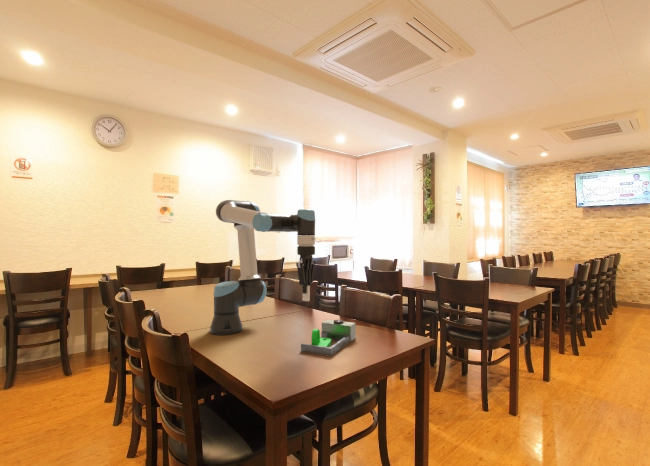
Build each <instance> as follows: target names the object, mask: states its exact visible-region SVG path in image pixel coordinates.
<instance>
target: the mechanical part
mask: <svg viewBox="0 0 650 466" xmlns="http://www.w3.org/2000/svg"><path fill="white" fill-rule="evenodd" d="M311 344H312V345H318V346H324V347H331V346H332V340H331V339H330V338H324V337H321V330H320V329H319V328H313V329H312V332H311Z"/></svg>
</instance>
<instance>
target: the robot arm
mask: <svg viewBox="0 0 650 466" xmlns="http://www.w3.org/2000/svg"><path fill="white" fill-rule="evenodd" d="M215 215H216V217H217V219H218V220H219V221H221V222H223V223H227V224H233V227H234V229H235V230H236V231H237V242H238V243H237V244H238V256H239V269H240V272H239V273H240V276H239V278H238V280H230V281H228V280H227V281H222V282H220V283H217V284H216V285H215V286H214V289H213V317H212V321H211V325H210V328H209V332H210V334H212V335H215V336H216V335H217V336H226V335H234V334H237V333H240V332H242V331H243V322H242V320H241V317H240V309H239V308H240V307H242V308H243V307H246V306H252V305H254V306H255V305H258V304H260V303H263V302H264V300H265V298H266V297H267V293H268V292H267V285H266V283H265V282H264V281H263V280H262V278H261V276H260V275H259V273H258V264H257V262H258V261H257V250H256V237H255V231H257V232H262V233H266V232H273V233H275V232H279V233H280V232H282V233H283V232H285V233H292V232H293V233H294V232H297V236H296V237H297V239H296V241H297V250H296V251H297V255H298V256H299V262H296V264H295V265H296V268H297V269H296V270H297V275H298V282H299V283H298V284H299V286H302V302H310V299H311V298H310V297H311V295H310V294H311V290H310V289H311V286H313V283H314V272H315V265H316V261H315V260H314V259H313V256H314V255H315V254H316V247H315V244H316V236H315V235H316V234H315V233H316V212H315V211H314V209H311V208H310V209H308V208H306V209H305V208H304V209H301V208H300V209H298V210H297V213H296V214H278V213H277V214H276V213H267V212H262V211H261V210H260V208H259V206H258V204H257V203H255V202H253V201H249V200H235V199H234V200H233V199H232V200H231V199H227V200H222V201H220V203H218V205H217V206H216V208H215Z"/></svg>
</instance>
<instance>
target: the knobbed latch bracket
mask: <svg viewBox="0 0 650 466" xmlns="http://www.w3.org/2000/svg"><path fill="white" fill-rule="evenodd" d="M356 325H357V324H356V322H351V321H344V320H343V319H334V320H333V319H326V320H324V321H322V322H321V331H320V337H324V338H330V339H331V341H333V342H335V343H334V344H331V345H330V347H324V346H318V345H312V343H311V344H310V343H306V342H304V343H303V342H301V343H300V352H301V353H309V354H313V355H320V356H326V357H333V356H334V355H335V354H337V353H338V352H339V351H341V350H342V349H343V348H345V347H346V346H347V345H349V344H350V343H352V342H353V341H355V340H356V337H357V335H356V330H357V329H356Z"/></svg>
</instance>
